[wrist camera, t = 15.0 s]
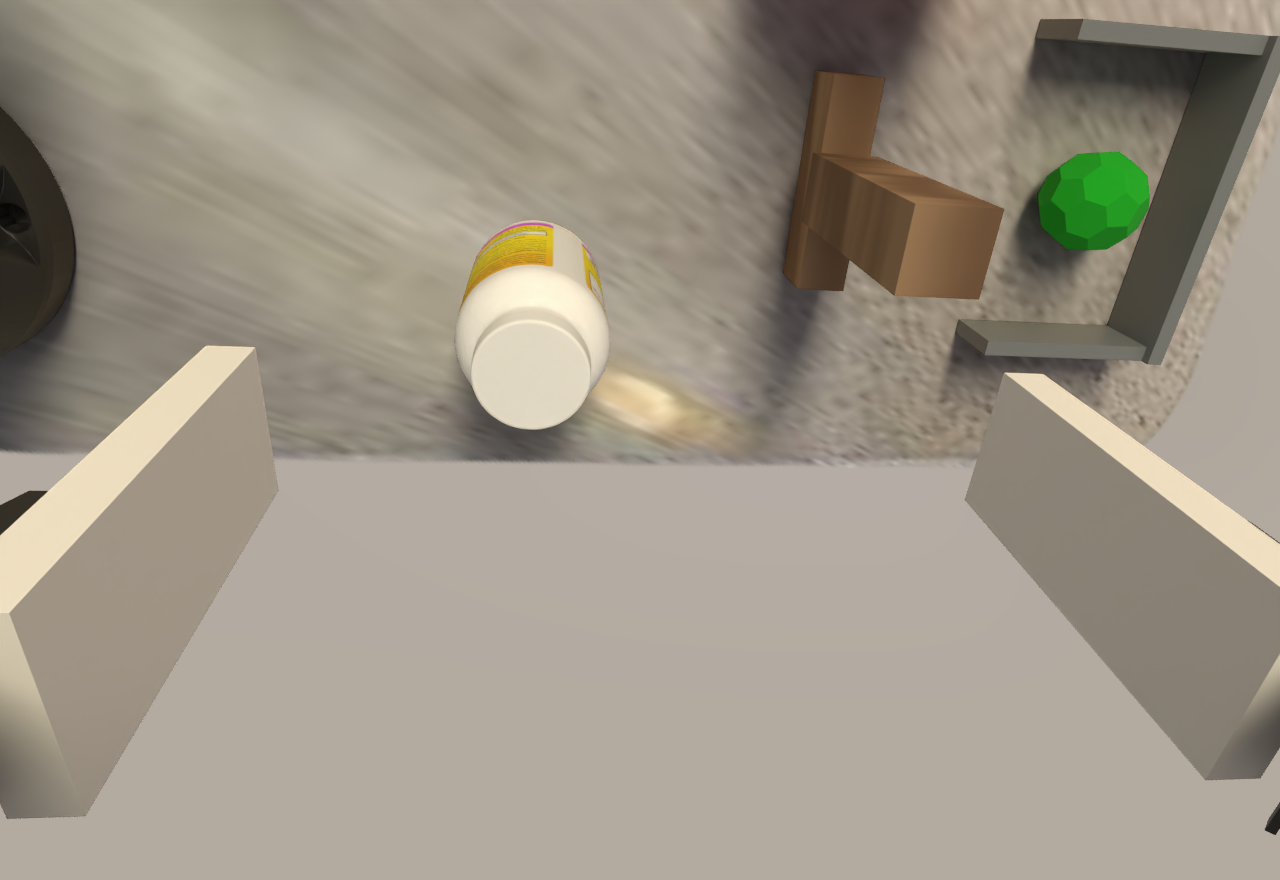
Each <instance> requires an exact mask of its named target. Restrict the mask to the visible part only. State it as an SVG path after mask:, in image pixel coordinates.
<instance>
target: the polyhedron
mask: <svg viewBox="0 0 1280 880" xmlns="http://www.w3.org/2000/svg"><path fill="white" fill-rule="evenodd" d="M1149 199H1150V194H1149V185H1148V177H1147V175H1146V174H1145V173H1144V172H1143V171H1142V170H1141V169H1140V168H1139V167H1138V166H1137V165H1136V164H1135V163H1133V162H1132V161H1131V160H1129V159H1128V158H1127V157H1126V156H1124V155H1123V154H1122V153H1120V152H1103V153H1086V154H1077V155H1076V156H1075V157H1073V158H1072V159H1070V160H1069V161H1067V162H1066V163H1065V164H1063V165H1062V166H1060V167H1059V168H1058V169H1056V170H1055V171H1053V172H1052V173H1051V174H1049V175H1048V176H1047V178H1046V180H1045V182H1044V184H1043V186H1042V188H1041V190H1040V192H1039V194H1038V202H1039V213H1040V222H1041V227H1042V228H1043V229H1044V230H1045V231H1046V232H1048V233H1049V234H1050V235H1051V236H1052V237H1053V238H1054V239H1055V240H1056V241H1058V242H1059V243H1060V244H1061V245H1062V246H1063V247H1065V248H1066V249H1067V250H1103V249H1108V248H1110V247H1111V246H1113V245H1115V244H1116V243H1118V242H1120V241H1121V240H1123V239H1125V238H1126V237H1128V236H1129V235H1130V234H1131V233H1132V232H1134V231H1135V230H1136V229H1137V228H1138V226H1139V225H1140V223H1141V221H1142V219H1143V217H1144V216H1145V214H1146V212H1147V210H1148V208H1149Z"/></svg>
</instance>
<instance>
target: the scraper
mask: <svg viewBox="0 0 1280 880" xmlns="http://www.w3.org/2000/svg"><path fill="white" fill-rule="evenodd" d="M884 82H885V78H882V77H876V76H870V75H864V74H852V73H839V72H827V71H815V75H814V82H813V88H812V94H811V100H810V107H809V113H808V119H807V125H806V132H805V138H804V144H803V150H802V156H801V163H800V169H799V175H798V181H797V188H796V194H795V200H794V206H793V213H792V219H791V225H790V231H789V238H788V244H787V250H786V256H785V263H784V269H783V273H784V274H785V276H786V277H787V278H788V279H789V280H790V281H791V282H792V283H793V284H794V285H795V286H796V288H797V289H807V290H829V291H843V289H844V284H845V279H846V274H847V269H848V264H849V260H850V261H852V262H853V263H854V264H855V265H857V266H858V267H859V268H860V269H862V270H863V271H864V272H865V273H867V274H868V275H869V276H870V277H872V278H873V279H874V280H875V281H877V282H878V283H879V284H880V285H882V286H883V287H884V288H885V289H887V290H888V291H889V292H890V293H892V294H893V295H894V296H913V297H936V298H958V299H979V297H980V294H981V290H982V287H983V283H984V279H985V276H986V272H987V269H988V265H989V262H990V258H991V255H992V251H993V247H994V244H995V240H996V237H997V233H998V230H999V226H1000V223H1001V219H1002V215H1003V212H1004V209H1003V208H1000V207H998V206H996V205H993V204H991V203H988V202H986V201H983V200H981V199H979V198H976V197H974V196H971V195H969V194H966V193H964V192H962V191H959V190H957V189H954V188H952V187H949V186H947V185H945V184H942V183H940V182H937V181H935V180H933V179H930V178H928V177H925V176H923V175H920V174H918V173H916V172H913V171H911V170H908V169H906V168H903V167H901V166H899V165H896V164H894V163H891V162H889V161H886V160H884V159H882V158H879V157H872V156H870V153H871V147H872V142H873V137H874V132H875V127H876V122H877V117H878V112H879V107H880V102H881V97H882V92H883V87H884Z"/></svg>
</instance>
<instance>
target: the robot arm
mask: <svg viewBox="0 0 1280 880" xmlns="http://www.w3.org/2000/svg"><path fill="white" fill-rule="evenodd" d="M73 266H74V241H73V233H72V227H71V222H70V218H69V214H68V211H67V208H66V205H65V202H64V199H63V196H62V194H61V191H60V189H59V187H58V185H57V183H56V181H55V179H54V176H53V175H52V173H51V171H50V169H49V168H48V166H47V164H46V162H45V161H44V159H43V158H42V156H41V155H40V153H39V152H38V150H37V149H36V147H35V146H34V145H33V143H32V142H31V141H30V139H29V138H28V137H27V136H26V134H25V133H24V132H23V131H22V130H21V128H20V127H19V126H18V125H17V124H16V123H15V122H14V121H13V120H12V118H11V117H10V116H9V115H8V114H7V113H6V112H5V111H4V110H3V109H2V108H1V107H0V356H1V355H3V354H5V353H7V352H8V351H10V350H12V349H13V348H15V347H17V346H18V345H20V344H22V343H24V342H25V341H27V340H28V339H30V338H31V337H33V336H34V335H36V334H37V333H38V332H39V331H41V330H42V329H43V328H44V327H45V326H46V325H47V324H48V323H49V322H50V321H51V319H52V318H53V317H54V316H55V314H56V313H57V311H58V310H59V308H60V307H61V305H62V303H63V301H64V299H65V297H66V294H67V292H68V289H69V286H70V282H71V279H72V273H73ZM277 492H278V485H277V480H276V472H275V466H274V460H273V454H272V447H271V441H270V435H269V429H268V422H267V416H266V410H265V404H264V398H263V391H262V385H261V379H260V373H259V366H258V360H257V354H256V348H255V347H230V346H205V347H204V348H203V349H202V350H201V351H200V352H199V353H198V354H197V355H196V356H194V357H193V358H192V359H191V360H190V361H189V362H188V363H187V364H186V365H185V366H184V367H183V368H181V369H180V370H179V371H178V372H177V373H176V374H175V375H174V376H173V377H172V378H171V379H170V380H168V381H167V382H166V383H165V384H164V385H163V386H162V387H161V388H160V389H159V390H158V391H157V392H155V393H154V394H153V395H152V396H151V397H150V398H149V399H148V400H147V401H146V402H145V403H143V404H142V405H141V406H140V407H139V408H138V409H137V410H136V411H135V412H134V413H133V414H132V415H130V416H129V417H128V418H127V419H126V420H125V421H124V422H123V423H122V424H121V425H120V426H119V427H117V428H116V429H115V430H114V431H113V432H112V433H111V434H110V435H109V436H108V437H107V438H106V439H104V440H103V441H102V442H101V443H100V444H99V445H98V446H97V447H96V448H95V449H94V450H92V451H91V452H90V453H89V454H88V455H87V456H86V457H85V458H84V459H83V460H82V461H81V462H79V463H78V464H77V465H76V466H75V467H74V468H73V469H72V470H71V471H70V472H69V473H68V474H66V475H65V476H64V477H63V478H62V479H61V480H60V481H59V482H58V483H57V484H56V485H55V486H53V487H52V488H51V489H50V490H49V491H28V492H26V493H24V494H22V495H20V496H18V497H16V498H14V499H12V500H10V501H8V502H6V503H4V504H2V505H0V804H1V806H2V808H3V811H4V813H5V815H6V818H7V819H15V818H43V817H45V818H46V817H77V816H86V814H87V813H88V811H89V809H90V807H91V806H92V804H93V802H94V801H95V799H96V797H97V795H98V794H99V792H100V791H101V789H102V787H103V786H104V784H105V782H106V780H107V779H108V777H109V775H110V774H111V772H112V770H113V769H114V767H115V765H116V764H117V762H118V760H119V759H120V757H121V755H122V753H123V752H124V750H125V748H126V747H127V745H128V743H129V742H130V740H131V738H132V737H133V735H134V733H135V732H136V730H137V728H138V727H139V725H140V723H141V722H142V720H143V718H144V716H145V715H146V713H147V711H148V710H149V708H150V706H151V704H152V703H153V701H154V700H155V698H156V696H157V695H158V693H159V691H160V689H161V688H162V686H163V684H164V683H165V681H166V679H167V677H168V676H169V674H170V673H171V671H172V669H173V668H174V666H175V664H176V662H177V661H178V659H179V657H180V656H181V654H182V652H183V651H184V649H185V647H186V646H187V644H188V642H189V641H190V639H191V637H192V636H193V634H194V632H195V630H196V629H197V627H198V625H199V624H200V622H201V620H202V619H203V617H204V615H205V614H206V612H207V610H208V608H209V607H210V605H211V603H212V602H213V600H214V598H215V597H216V595H217V593H218V592H219V590H220V588H221V587H222V585H223V583H224V582H225V580H226V578H227V577H228V575H229V573H230V571H231V570H232V568H233V566H234V565H235V563H236V561H237V560H238V558H239V556H240V555H241V553H242V551H243V550H244V548H245V546H246V544H247V543H248V541H249V539H250V538H251V536H252V534H253V533H254V531H255V529H256V528H257V526H258V524H259V522H260V521H261V519H262V518H263V516H264V514H265V512H266V511H267V509H268V507H269V506H270V504H271V502H272V501H273V499H274V497H275V496H276V494H277ZM965 501H966V502H967V503H968V504H969V505H970V507H971V508H972V509H973V510H974V511H975V512H976V514H977V515H978V516H979V517H980V518H981V519H982V520H983V522H984V523H985V524H986V525H987V526H988V528H989V529H990V530H991V531H992V532H993V533H994V535H995V536H996V537H997V538H998V539H999V540H1000V541H1001V543H1002V544H1003V545H1004V546H1005V547H1006V548H1007V550H1008V551H1009V552H1010V553H1011V554H1012V555H1013V557H1014V558H1015V559H1016V560H1017V561H1018V563H1019V564H1020V565H1021V566H1022V567H1023V568H1024V569H1025V571H1026V572H1027V573H1028V574H1029V575H1030V576H1031V578H1032V579H1033V580H1034V581H1035V582H1036V583H1037V585H1038V586H1039V587H1040V588H1041V589H1042V590H1043V592H1044V593H1045V594H1046V595H1047V596H1048V597H1049V599H1050V600H1051V601H1052V602H1053V603H1054V604H1055V606H1056V607H1057V608H1058V609H1059V610H1060V611H1061V613H1062V614H1063V615H1064V616H1065V617H1066V618H1067V620H1068V621H1069V622H1070V623H1071V624H1072V625H1073V626H1074V627H1075V629H1076V630H1077V631H1078V632H1079V633H1080V634H1081V636H1082V637H1083V638H1084V639H1085V640H1086V642H1087V643H1088V644H1089V645H1090V646H1091V647H1092V649H1093V650H1094V651H1095V652H1096V653H1097V654H1098V656H1099V657H1100V658H1101V659H1102V660H1103V661H1104V663H1105V664H1106V665H1107V666H1108V667H1109V668H1110V670H1111V671H1112V672H1113V673H1114V674H1115V675H1116V677H1117V678H1118V679H1119V680H1120V681H1121V682H1122V684H1123V685H1124V686H1125V687H1126V688H1127V689H1128V691H1129V692H1130V693H1131V694H1132V695H1133V696H1134V697H1135V699H1136V700H1137V701H1138V702H1139V703H1140V704H1141V706H1142V707H1143V708H1144V709H1145V710H1146V711H1147V713H1148V714H1149V715H1150V716H1151V717H1152V718H1153V719H1154V721H1155V722H1156V723H1157V724H1158V725H1159V727H1160V728H1161V729H1162V730H1163V731H1164V732H1165V733H1166V735H1167V736H1168V737H1169V738H1170V739H1171V741H1172V742H1173V743H1174V744H1175V745H1176V746H1177V748H1178V749H1179V750H1180V751H1181V752H1182V753H1183V754H1184V756H1185V757H1186V758H1187V759H1188V760H1189V761H1190V763H1191V764H1192V765H1193V766H1194V767H1195V768H1196V770H1197V771H1198V772H1199V773H1200V774H1201V775H1202V777H1203V778H1204V779H1205V780H1225V779H1256V778H1261V776H1262V775H1263V773H1264V771H1265V770H1266V768H1267V767H1268V765H1269V764H1270V762H1271V761H1272V759H1273V757H1274V756H1275V754H1276V753H1277V751H1278V750H1279V748H1280V543H1279V542H1278V541H1276V540H1275V539H1274V538H1272V537H1271V536H1269V535H1268V534H1267V533H1265V532H1264V531H1262V530H1261V529H1260V528H1258V527H1257V526H1256V525H1254V524H1253V523H1251V522H1249V521H1247V520H1246V519H1244V518H1243V517H1241V516H1240V515H1238V514H1237V513H1235V512H1234V511H1233V510H1232V509H1230V508H1229V507H1227V506H1226V505H1225V504H1223V503H1222V502H1220V501H1219V500H1218V499H1216V498H1215V497H1213V496H1212V495H1210V494H1209V493H1208V492H1206V491H1205V490H1204V489H1202V488H1201V487H1200V486H1198V485H1197V484H1195V483H1194V482H1193V481H1191V480H1190V479H1188V478H1187V477H1186V476H1184V475H1183V474H1181V473H1180V472H1179V471H1177V470H1176V469H1174V468H1173V467H1172V466H1170V465H1169V464H1168V463H1166V462H1165V461H1163V460H1162V459H1160V458H1159V457H1158V456H1156V455H1155V454H1154V453H1152V452H1151V451H1149V450H1148V449H1147V448H1145V447H1144V446H1143V445H1141V444H1140V443H1138V442H1137V441H1136V440H1134V439H1133V438H1131V437H1130V436H1129V435H1127V434H1126V433H1124V432H1123V431H1122V430H1120V429H1119V428H1117V427H1116V426H1115V425H1113V424H1112V423H1111V422H1109V421H1108V420H1106V419H1105V418H1104V417H1102V416H1101V415H1099V414H1098V413H1097V412H1095V411H1094V410H1092V409H1091V408H1090V407H1088V406H1087V405H1085V404H1084V403H1083V402H1081V401H1080V400H1078V399H1077V398H1076V397H1074V396H1073V395H1072V394H1070V393H1069V392H1067V391H1066V390H1065V389H1063V388H1062V387H1060V386H1059V385H1058V384H1056V383H1055V382H1053V381H1052V380H1051V379H1049V378H1048V377H1046V376H1045V375H1044V374H1029V373H1004V375H1003V378H1002V381H1001V385H1000V388H999V391H998V394H997V397H996V401H995V404H994V407H993V410H992V414H991V417H990V420H989V423H988V426H987V430H986V433H985V436H984V439H983V443H982V446H981V449H980V452H979V456H978V459H977V462H976V465H975V468H974V472H973V475H972V478H971V482H970V485H969V488H968V491H967V494H966V498H965ZM1279 829H1280V803H1279V804H1278V806H1277V807H1276V809H1275V810H1274V812H1273V813H1272V815H1271V816H1270V818H1269V820H1268V822H1267V825H1266V828H1265V830H1266V831H1268V832H1270V833H1272V834H1274V835H1276V833H1277V832H1278V830H1279Z"/></svg>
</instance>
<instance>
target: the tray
mask: <svg viewBox="0 0 1280 880" xmlns="http://www.w3.org/2000/svg"><path fill="white" fill-rule="evenodd" d="M1036 38H1042V39H1054V40H1065V41H1077V42H1088V43H1099V44H1111V45H1122V46H1134V47H1145V48H1156V49H1168V50H1179V51H1191V52H1202V53H1207V54H1206V56H1205V59H1204V62H1203V65H1202V67H1201V70H1200V73H1199V76H1198V78H1197V81H1196V84H1195V87H1194V89H1193V92H1192V95H1191V98H1190V100H1189V103H1188V106H1187V109H1186V111H1185V114H1184V117H1183V120H1182V122H1181V125H1180V128H1179V130H1178V133H1177V136H1176V139H1175V141H1174V144H1173V147H1172V150H1171V152H1170V155H1169V158H1168V161H1167V163H1166V166H1165V169H1164V172H1163V174H1162V177H1161V180H1160V183H1159V185H1158V188H1157V191H1156V194H1155V196H1154V199H1153V202H1152V205H1151V207H1150V210H1149V213H1148V216H1147V218H1146V221H1145V224H1144V227H1143V229H1142V232H1141V235H1140V238H1139V240H1138V243H1137V246H1136V249H1135V251H1134V254H1133V257H1132V260H1131V262H1130V265H1129V268H1128V270H1127V273H1126V276H1125V279H1124V281H1123V284H1122V287H1121V290H1120V292H1119V295H1118V298H1117V301H1116V303H1115V306H1114V309H1113V312H1112V314H1111V317H1110V320H1109V323H1108V325H1107V326H1104V325H1080V324H1056V323H1033V322H1009V321H985V320H961V319H959V322H958V326H957V329H956V333H957V334H958V335H959V336H961V337H962V338H963V339H964V340H966V341H967V342H968V343H970V344H971V345H972V346H974V347H975V348H976V349H977V350H979V351H980V352H981V353H983V354H984V355H996V356H1023V357H1050V358H1078V359H1105V360H1133V361H1143V362H1144V363H1146V364H1154V365H1161V363H1162V361H1163V358H1164V356H1165V353H1166V351H1167V348H1168V346H1169V344H1170V341H1171V339H1172V336H1173V334H1174V331H1175V329H1176V326H1177V324H1178V321H1179V319H1180V316H1181V314H1182V312H1183V309H1184V307H1185V304H1186V302H1187V299H1188V297H1189V294H1190V292H1191V289H1192V287H1193V285H1194V282H1195V280H1196V277H1197V275H1198V272H1199V270H1200V267H1201V265H1202V262H1203V260H1204V257H1205V255H1206V253H1207V250H1208V248H1209V245H1210V243H1211V240H1212V238H1213V235H1214V233H1215V230H1216V228H1217V226H1218V223H1219V221H1220V218H1221V216H1222V213H1223V211H1224V208H1225V206H1226V203H1227V201H1228V198H1229V196H1230V194H1231V191H1232V189H1233V186H1234V184H1235V181H1236V179H1237V176H1238V174H1239V171H1240V169H1241V167H1242V164H1243V162H1244V159H1245V157H1246V154H1247V152H1248V149H1249V147H1250V144H1251V142H1252V139H1253V137H1254V135H1255V132H1256V130H1257V127H1258V125H1259V122H1260V120H1261V117H1262V115H1263V112H1264V110H1265V108H1266V105H1267V103H1268V100H1269V98H1270V95H1271V93H1272V90H1273V88H1274V85H1275V83H1276V80H1277V78H1278V76H1279V73H1280V36H1264V35H1253V34H1242V33H1231V32H1220V31H1209V30H1198V29H1187V28H1176V27H1165V26H1154V25H1143V24H1132V23H1121V22H1110V21H1099V20H1088V19H1041V21H1040V24H1039V28H1038V32H1037V35H1036Z"/></svg>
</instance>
